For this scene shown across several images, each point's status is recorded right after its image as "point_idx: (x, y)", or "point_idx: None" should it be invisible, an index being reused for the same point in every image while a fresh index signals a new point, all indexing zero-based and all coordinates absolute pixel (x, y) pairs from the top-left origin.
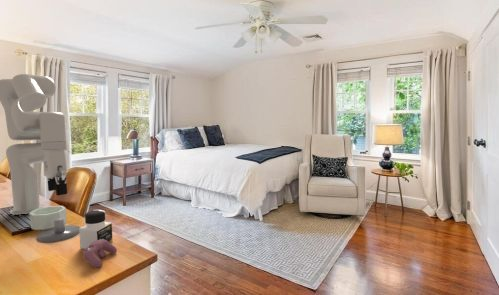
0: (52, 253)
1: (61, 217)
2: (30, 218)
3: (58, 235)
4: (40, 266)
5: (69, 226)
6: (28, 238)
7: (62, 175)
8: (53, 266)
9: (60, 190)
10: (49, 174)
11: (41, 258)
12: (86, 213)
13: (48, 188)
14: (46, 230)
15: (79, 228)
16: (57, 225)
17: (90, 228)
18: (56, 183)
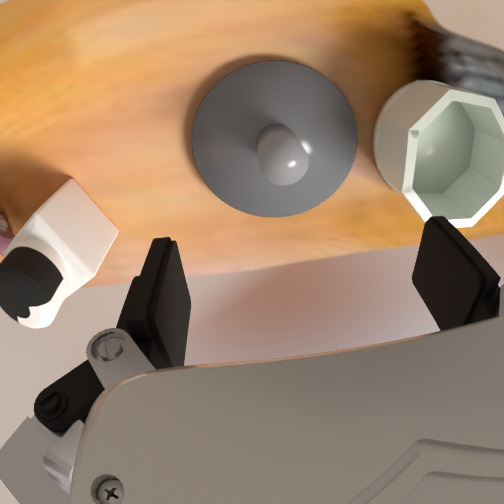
0: (85, 96)
1: (396, 188)
2: (468, 91)
3: (233, 130)
4: (20, 70)
5: (317, 188)
6: (324, 36)
7: (11, 448)
8: (3, 103)
9: (131, 294)
10: (186, 444)
11: (68, 65)
12: (13, 277)
13: (445, 226)
14: (343, 106)
15: (36, 214)
16: (262, 143)
17: (16, 244)
18: (439, 311)
